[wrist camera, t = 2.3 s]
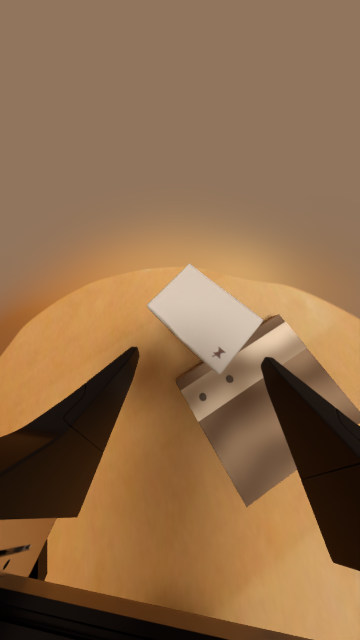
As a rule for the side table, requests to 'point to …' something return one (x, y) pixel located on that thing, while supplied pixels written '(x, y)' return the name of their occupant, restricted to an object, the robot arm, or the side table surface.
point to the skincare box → (205, 317)
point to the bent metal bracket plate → (255, 407)
